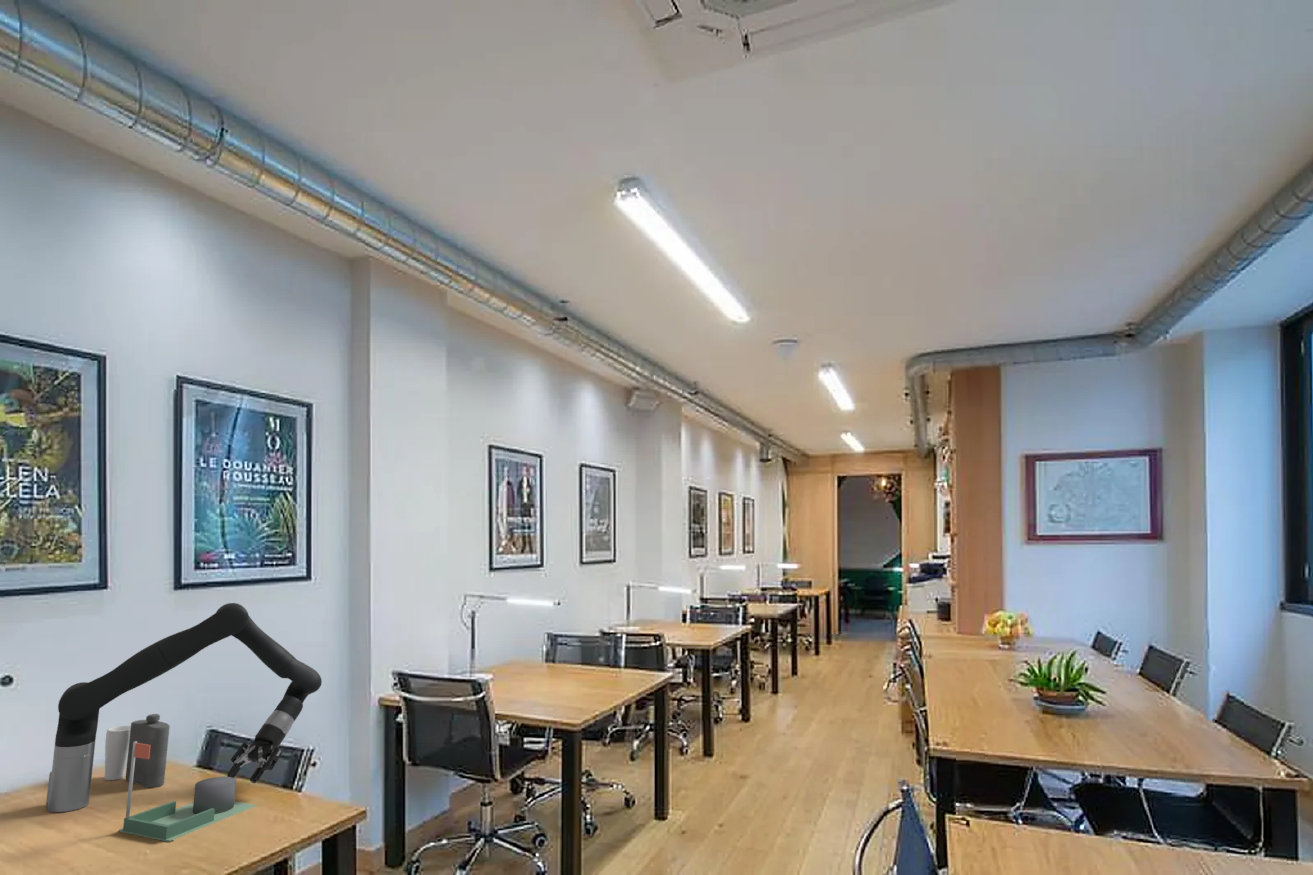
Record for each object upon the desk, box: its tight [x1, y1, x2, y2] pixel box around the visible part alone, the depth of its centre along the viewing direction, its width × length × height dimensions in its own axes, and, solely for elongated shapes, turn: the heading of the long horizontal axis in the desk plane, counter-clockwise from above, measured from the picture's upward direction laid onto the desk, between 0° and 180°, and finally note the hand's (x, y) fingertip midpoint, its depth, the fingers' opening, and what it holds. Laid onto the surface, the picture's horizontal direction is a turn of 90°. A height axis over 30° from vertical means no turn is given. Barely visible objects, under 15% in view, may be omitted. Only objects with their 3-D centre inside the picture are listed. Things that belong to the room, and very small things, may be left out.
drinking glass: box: [103, 725, 131, 781], centre depth 241 cm, size 7×7×15 cm
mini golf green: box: [118, 741, 258, 843], centre depth 211 cm, size 18×27×22 cm, turn 161°
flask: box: [124, 713, 170, 789], centre depth 238 cm, size 15×6×20 cm, turn 63°
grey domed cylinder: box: [192, 776, 237, 814], centre depth 216 cm, size 10×10×7 cm
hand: (240, 779), depth 225 cm, fingers open, 8 cm apart
